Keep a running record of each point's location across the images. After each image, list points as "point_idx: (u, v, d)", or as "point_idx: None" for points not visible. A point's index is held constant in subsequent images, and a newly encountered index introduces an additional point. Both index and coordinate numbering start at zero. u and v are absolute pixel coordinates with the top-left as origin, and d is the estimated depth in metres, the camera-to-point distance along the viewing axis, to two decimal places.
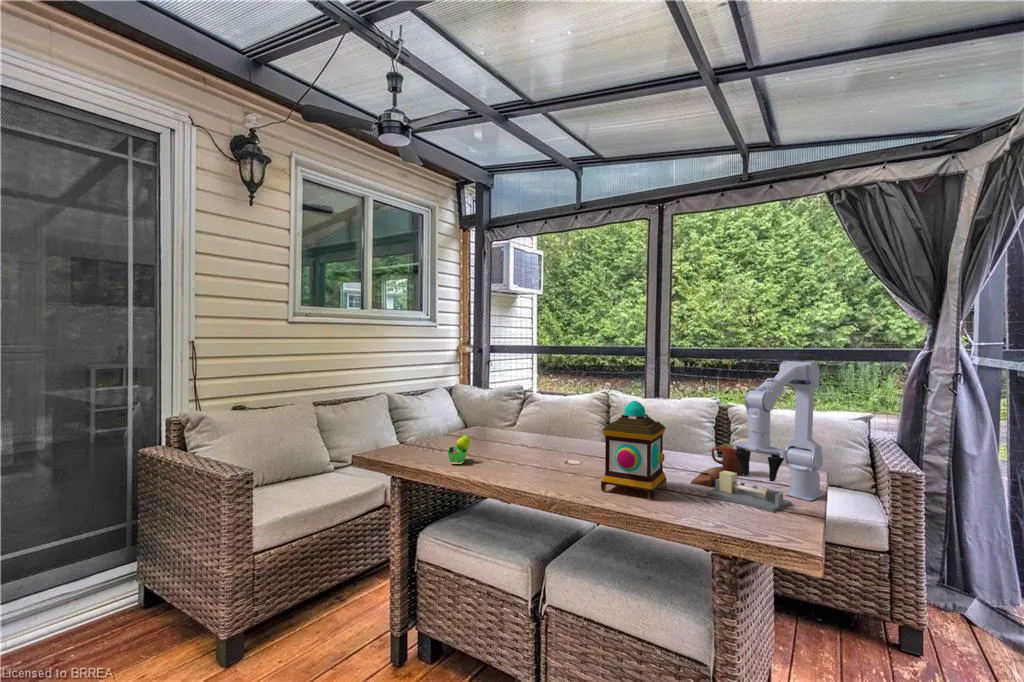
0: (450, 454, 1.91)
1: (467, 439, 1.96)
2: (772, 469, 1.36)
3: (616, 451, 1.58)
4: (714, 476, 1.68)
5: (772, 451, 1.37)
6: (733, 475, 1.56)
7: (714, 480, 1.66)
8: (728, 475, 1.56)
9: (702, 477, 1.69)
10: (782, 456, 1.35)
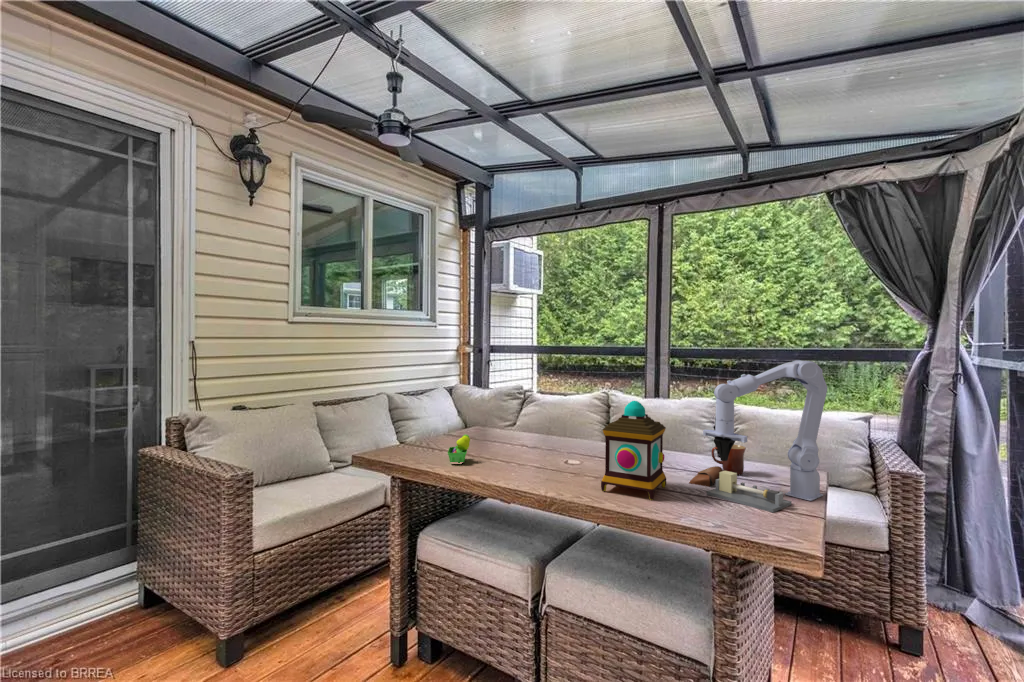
0: (450, 454, 1.91)
1: (467, 439, 1.96)
2: (724, 450, 1.59)
3: (616, 451, 1.58)
4: (713, 476, 1.68)
5: (735, 436, 1.56)
6: (733, 475, 1.56)
7: (712, 480, 1.66)
8: (728, 475, 1.56)
9: (700, 477, 1.70)
10: (743, 441, 1.55)
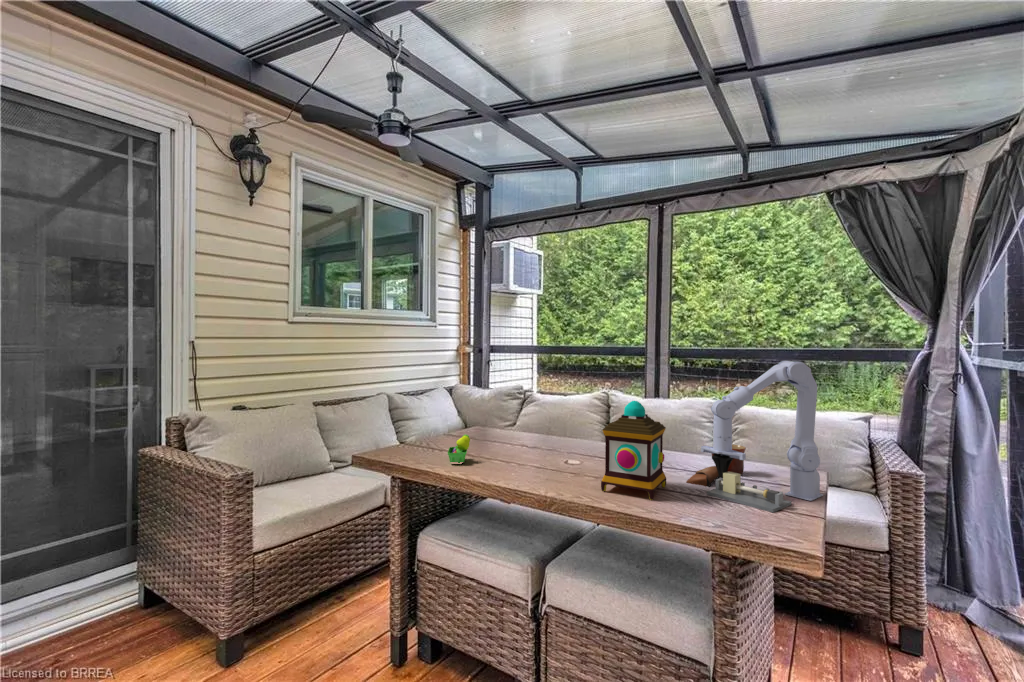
0: (450, 454, 1.91)
1: (467, 439, 1.96)
2: (722, 467, 1.57)
3: (616, 451, 1.58)
4: (710, 475, 1.69)
5: (733, 454, 1.55)
6: (737, 476, 1.55)
7: (709, 479, 1.67)
8: (732, 476, 1.55)
9: (698, 476, 1.70)
10: (741, 458, 1.53)
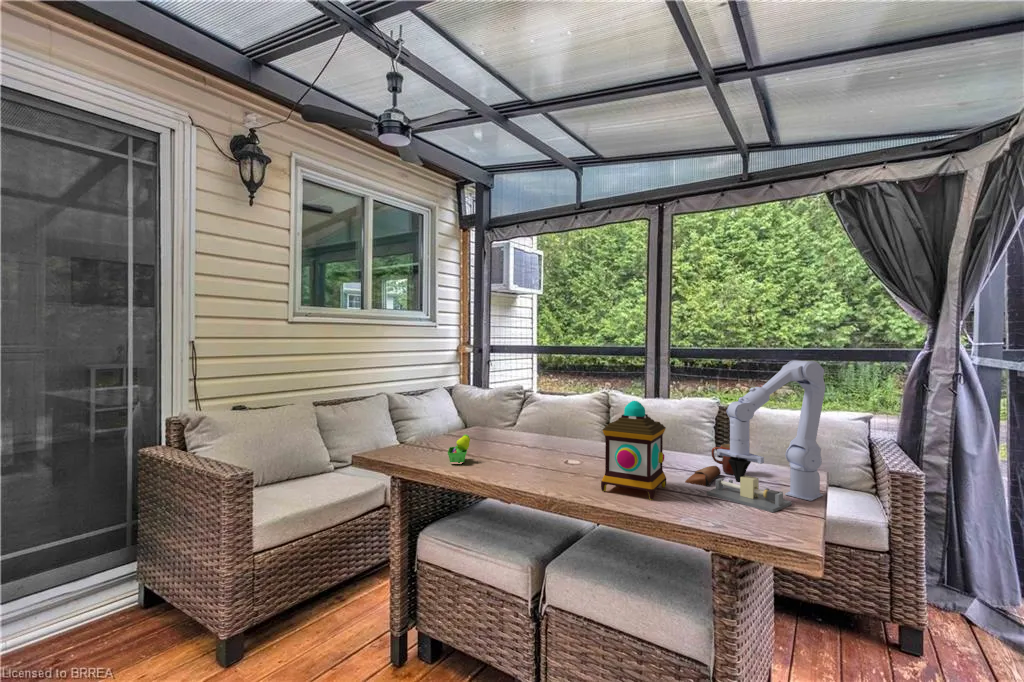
0: (450, 454, 1.91)
1: (467, 439, 1.96)
2: (739, 471, 1.53)
3: (616, 451, 1.58)
4: (709, 475, 1.69)
5: (751, 457, 1.50)
6: (755, 480, 1.50)
7: (708, 479, 1.67)
8: (750, 480, 1.50)
9: (697, 476, 1.71)
10: (759, 462, 1.49)
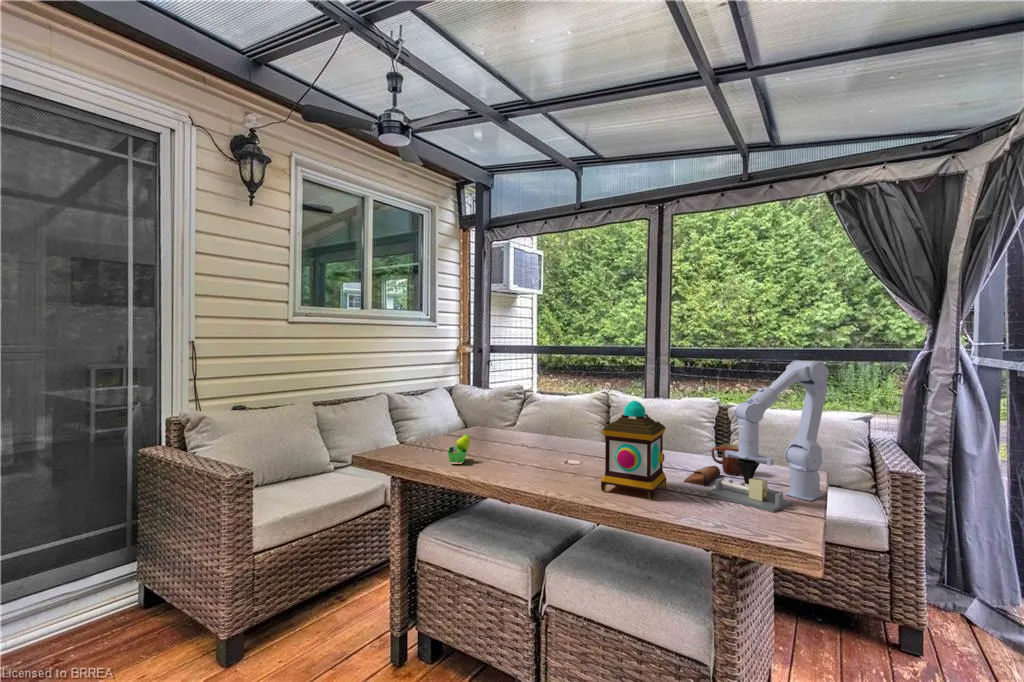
0: (450, 454, 1.91)
1: (467, 439, 1.96)
2: (748, 473, 1.51)
3: (616, 451, 1.58)
4: (707, 475, 1.70)
5: (760, 459, 1.48)
6: (764, 482, 1.48)
7: (707, 479, 1.67)
8: (758, 482, 1.48)
9: (695, 476, 1.71)
10: (769, 464, 1.46)
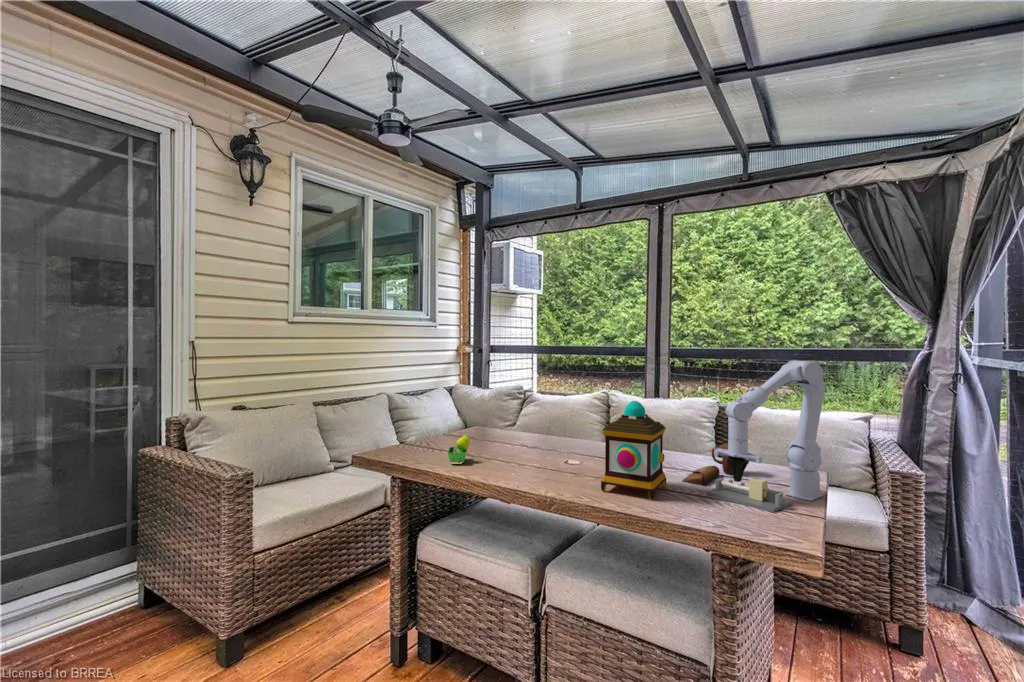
0: (450, 454, 1.91)
1: (467, 439, 1.96)
2: (738, 471, 1.53)
3: (616, 451, 1.58)
4: (706, 475, 1.70)
5: (749, 457, 1.51)
6: (764, 482, 1.48)
7: (705, 478, 1.68)
8: (759, 482, 1.48)
9: (694, 475, 1.71)
10: (758, 461, 1.49)
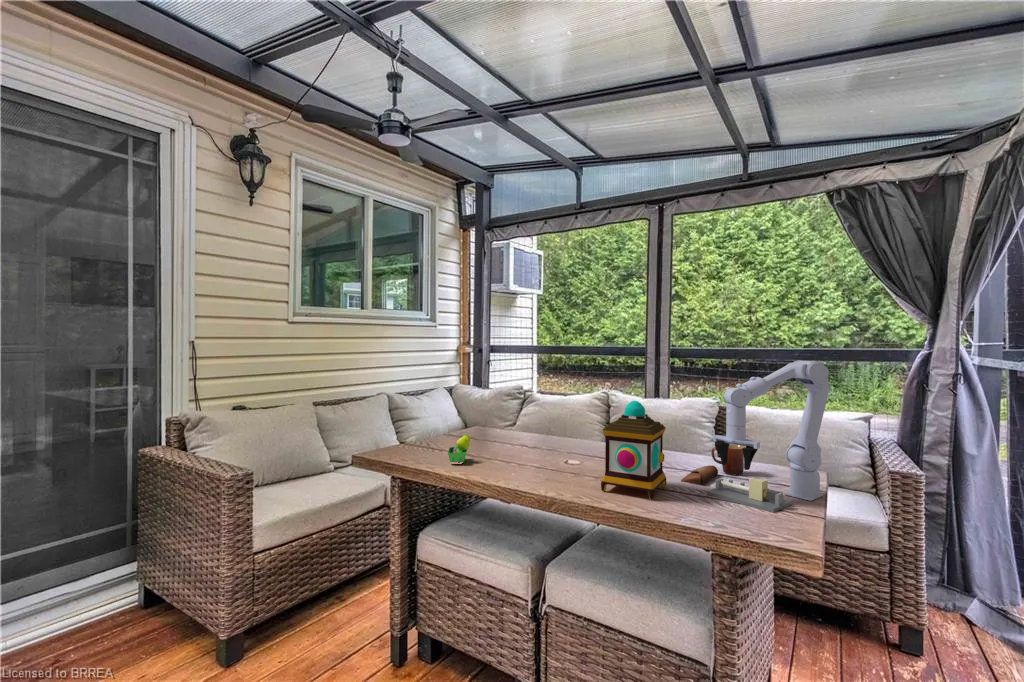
0: (450, 454, 1.91)
1: (467, 439, 1.96)
2: (746, 459, 1.51)
3: (616, 451, 1.58)
4: (704, 474, 1.70)
5: (747, 442, 1.51)
6: (764, 482, 1.48)
7: (703, 478, 1.68)
8: (759, 482, 1.48)
9: (692, 475, 1.72)
10: (755, 447, 1.50)
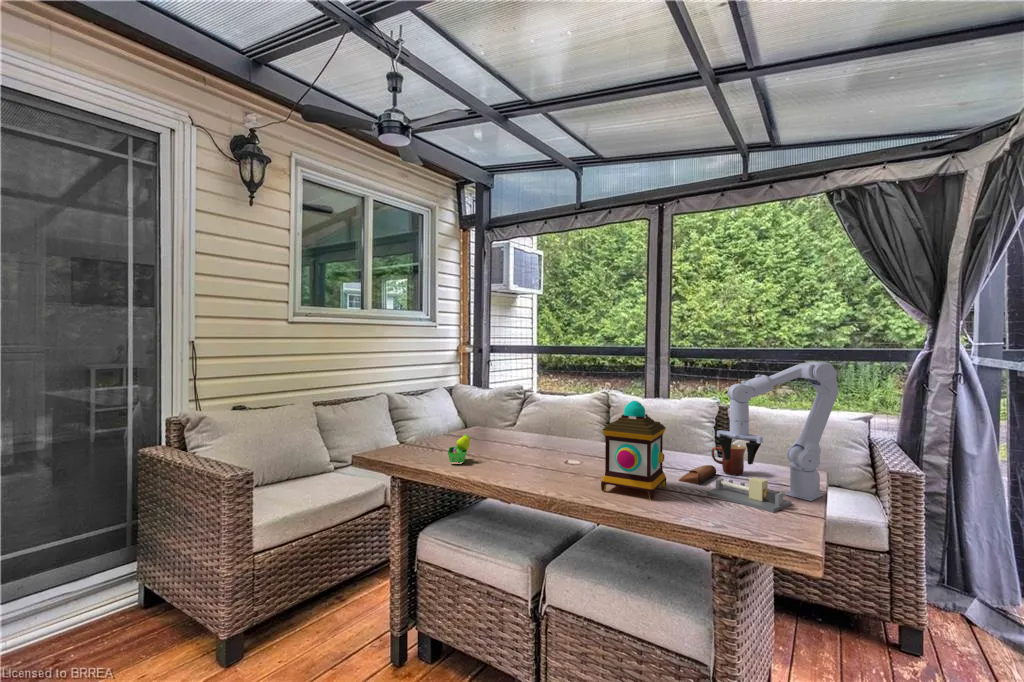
0: (450, 454, 1.91)
1: (467, 439, 1.96)
2: (750, 453, 1.54)
3: (616, 451, 1.58)
4: (702, 474, 1.71)
5: (750, 437, 1.54)
6: (764, 482, 1.48)
7: (701, 478, 1.68)
8: (759, 482, 1.48)
9: (690, 475, 1.72)
10: (758, 442, 1.53)
